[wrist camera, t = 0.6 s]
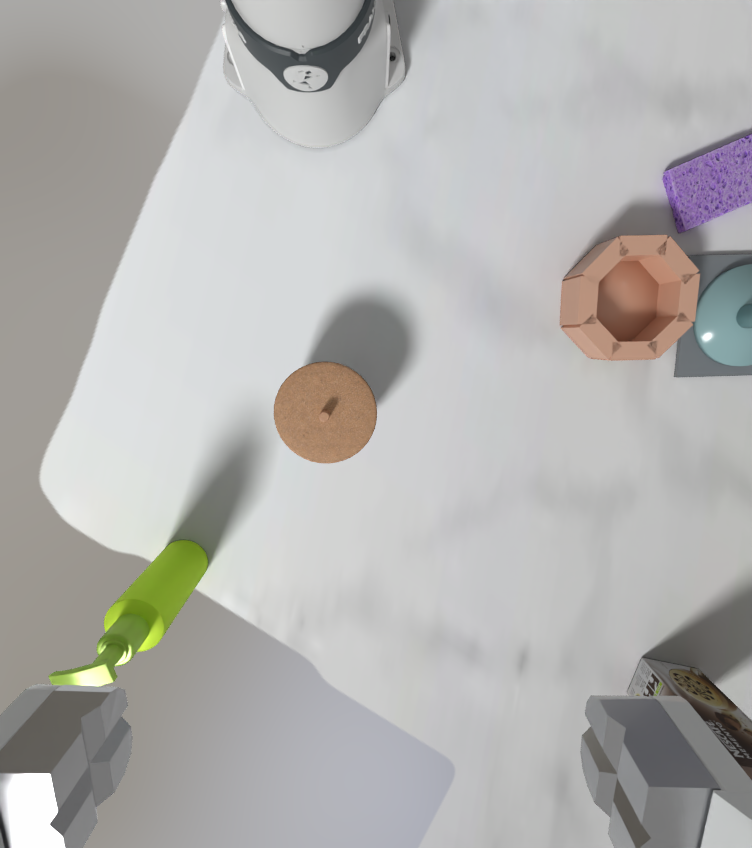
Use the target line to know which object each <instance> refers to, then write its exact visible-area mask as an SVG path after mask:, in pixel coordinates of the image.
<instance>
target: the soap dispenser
mask: <svg viewBox="0 0 752 848" xmlns="http://www.w3.org/2000/svg"><path fill="white" fill-rule="evenodd" d="M207 567H208V558H207V555H206V553H205V551H204V550H203V549H202V548H201V547H200V546H199V545H198V544H196V543H194V542H192V541H188V540H178V541H175V542H172V543H171V544H169V545H168V546H167V547H166V548H165V549H164V550H163V551H162V552H161V553H160V554H159V556H158V557H157V558H156V559H155V560H154V561H153V562H152V563H151V564H150V565H149V566H148V567H147V569H146V570H145V571H144V572H143V573H142V574H141V575H140V576H139V577H138V578H137V579H136V580H135V582H134V583H133V584H132V585H131V586H130V587H129V588H128V589H127V591H125V592H124V594H123V595H122V596H121V597H120V598H119V599H118V600H117V601H116V602H115V603H114V604H113V606H111V608H110V609H109V610H108V611H107V614H106V616H105V619H104V628H105V631H106V633H105V634H104V635H103V636H102V638H101V639H100V640H99V642H98V644H97V653H98V655H99V656H98V657H97V658H96V660H95V661H94V662H93V663H92V664H89V665H85V666H82V667H78V668H75V669H70V670H65V671H56V672H54V673H52V674H51V675H49V679H50V681H51V683H52V685H81V686H102V685H105V684H109V683H112V682H114V681H115V679H116V678H117V675H116V673H115V670H114V667H115V666H121V665H124V664H126V663H128V662H129V661H130V660H131V659H132V658H133V656H134V655H135V654H136V652H140V651H146V650H149V649H150V648H152V647H154V646H155V645H157V644H158V643H159V641H160V640H161V639H162V637H163V635H164V634H165V633H166V631H167V629H168V628H169V626H170V625H171V623H172V622H173V620H174V619H175V617H176V616H177V614H178V613H179V611H180V610H181V608H182V607H183V605H184V604H185V602H186V601H187V599H188V598H189V596H190V595H191V593H192V592H193V590H194V589H195V587H196V586H197V584H198V583H199V581H200V579H201V578H202V576H203V575H204V573H205V572H206V570H207Z"/></svg>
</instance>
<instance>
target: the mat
mask: <svg viewBox="0 0 752 848" xmlns="http://www.w3.org/2000/svg"><path fill="white" fill-rule="evenodd" d="M688 258H689V259H690V260H691V261H692V262H693V264H694V265H695V266H696V267H697V268H698V270H699V271H698V272H697V273H696V274H700V281H699V290H698V299H699V297H700V295H701V294H702V292H703V291H704V289H705V288H706V287H707V285H708V284H709V283H710V282H711V281H712V280H713V279H714V278H716V277H717V276H718V275H720V274H721V273H723V272H725V271H727V270H729V269H731V268H734V267H738V266H743V265H748V264H752V254H736V255H690V256H688ZM698 299H697V302H698ZM692 324H693V322H692ZM739 375H752V365H749V366H729V365H723V364H720V363H717V362H715V361H713V360H711V359H710V358H709V357H707V356H706V355H705V354H704V353H703V352H702V350H701V349H700V348H699V346H698V344H697V342H696V339H695V336H694V331H693V325H692V326H691V327H690V328H689V329H688V330H687V331H686V332H685V333H684V334H683V335H682V336H681V337H680V338H679V339H678V344H677V354H676V363H675V373H674V377H704V376H739Z"/></svg>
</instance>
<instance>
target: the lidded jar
mask: <svg viewBox="0 0 752 848" xmlns="http://www.w3.org/2000/svg"><path fill="white" fill-rule="evenodd" d="M274 419H275V424H276V428H277V431H278V433H279V435H280V437H281V438H282V440H283V441H284V443H285V444H286V445H287V446H288V447H289V448H290V449H291V450H292V451H293V452H294V453H296V454H297V455H299V456H301V457H302V458H304V459H307V460H310V461H313V462H317V463H336V462H339V461H343V460H346V459H348V458H350V457H352V456H353V455H355V454H357V453H358V452H359V451H360V450H361V449H362V448H363V447H364V446H365V445H366V444H367V443H368V441H369V439H370V438H371V436H372V434H373V431H374V429H375V425H376V420H377V408H376V402H375V398H374V395H373V393H372V390H371V388H370V387H369V385H368V384H367V382H366V381H365V380H364V379H363V378H362V377H361V376H360V375H359V374H358V373H357V372H355V371H354V370H352V369H351V368H349V367H347V366H345V365H342V364H338V363H334V362H316V363H312V364H308V365H306V366H303V367H301V368H299V369H298V370H296V371H295V372H293V373H292V374H291V375H290V376H289V377H288V378H287V379H286V380H285V381H284V383H283V384H282V385H281V387H280V389H279V391H278V393H277V396H276V399H275V404H274Z"/></svg>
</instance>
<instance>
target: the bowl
mask: <svg viewBox="0 0 752 848" xmlns="http://www.w3.org/2000/svg"><path fill="white" fill-rule="evenodd" d="M698 271H699V270H698V268H697V267H696V266H695V265H694V264H693V262H692V261H691V260H690V259H689V258H688V256H687V255H686V254H685V253H684V252H683V251H682V249H681V248H680V247H679V246H678V245H677V243H676V242H675V241H674V240H673V239H672V237H671V236H669V237H667V235H633V236H619V237H616V238H614V239H611V240H608V241H606V242H603V243H601V244H598V245H596V246H595V247H594V248H593V249H592V250H591V251H590V252H589V253H588V254H587V255H586V256H585V257H584V258H583V259H582V260H581V261H580V262H579V263H578V264H577V265H576V266H575V267H574V268H573V269H572V270H571V271H570V272H569V273H568V274H567V275H566V276H565V277H564V280H565V281H562V293H561V311H560V325H563V326H562V327H561V329H562V330H563V331H564V332H565V333H566V334H567V335H568V336H569V338H570V339H571V340H572V341H573V342H574V343H575V344H576V345H577V346H578V347H579V348H580V349H581V350H582V351H583V353H584V354H585V355H586V356H587V357H589V358H591V359H601V360H611V361H612V360H649V359H656V358H659V357H660V356H661V355H662V354H663V353H664V352H665V351H666V350H667V349H668V348H670V347H671V346H672V345H673V344H674V343H675V342H676V341H677V340H678V339H679V338H680V337H681V336H682V335H683V334H684V333H685V332H686V331H687V330H688V329H689V328H690V327H691V326H692V325H693V324H692V322H695V317H696V308H697V299H698V290H699V281H700V274H696V273H697V272H698Z"/></svg>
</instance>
